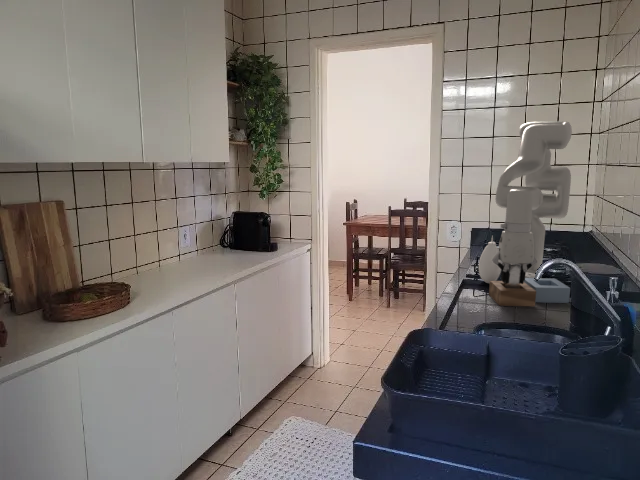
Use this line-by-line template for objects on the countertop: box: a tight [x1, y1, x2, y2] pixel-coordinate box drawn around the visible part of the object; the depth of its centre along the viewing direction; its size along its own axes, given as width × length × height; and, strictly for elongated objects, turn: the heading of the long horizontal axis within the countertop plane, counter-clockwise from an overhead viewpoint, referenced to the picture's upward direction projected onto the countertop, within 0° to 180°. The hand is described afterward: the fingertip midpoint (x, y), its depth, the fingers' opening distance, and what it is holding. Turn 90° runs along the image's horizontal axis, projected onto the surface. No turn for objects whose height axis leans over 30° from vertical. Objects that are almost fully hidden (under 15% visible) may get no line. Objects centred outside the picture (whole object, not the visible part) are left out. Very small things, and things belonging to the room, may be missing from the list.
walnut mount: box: [488, 280, 536, 307], centre depth 153 cm, size 11×11×5 cm
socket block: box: [524, 277, 571, 304], centre depth 156 cm, size 11×11×5 cm
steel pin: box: [505, 264, 522, 289], centre depth 152 cm, size 4×4×12 cm
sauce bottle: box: [478, 235, 502, 285], centre depth 171 cm, size 8×8×18 cm
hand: (512, 282), depth 152 cm, fingers closed on steel pin, 4 cm apart
